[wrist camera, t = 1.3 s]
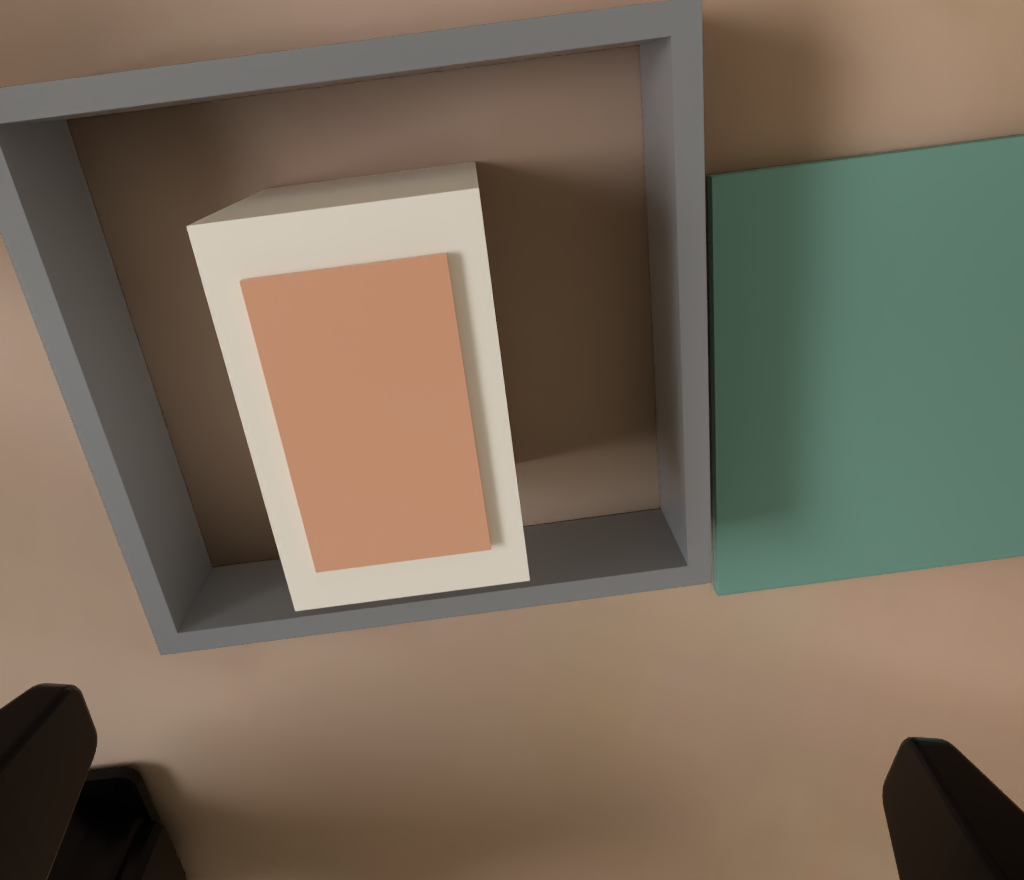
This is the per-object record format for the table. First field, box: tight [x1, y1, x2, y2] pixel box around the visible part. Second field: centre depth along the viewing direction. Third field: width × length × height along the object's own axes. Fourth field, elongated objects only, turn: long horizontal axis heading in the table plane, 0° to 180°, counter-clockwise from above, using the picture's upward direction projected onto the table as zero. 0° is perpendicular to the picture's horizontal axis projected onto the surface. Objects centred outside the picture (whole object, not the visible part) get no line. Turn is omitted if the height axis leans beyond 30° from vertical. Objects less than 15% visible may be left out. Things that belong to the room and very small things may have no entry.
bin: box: [0, 0, 712, 655], centre depth 19 cm, size 14×13×3 cm
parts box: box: [186, 161, 530, 611], centre depth 17 cm, size 5×8×6 cm, turn 7°
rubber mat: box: [707, 134, 1024, 596], centre depth 21 cm, size 10×12×1 cm
